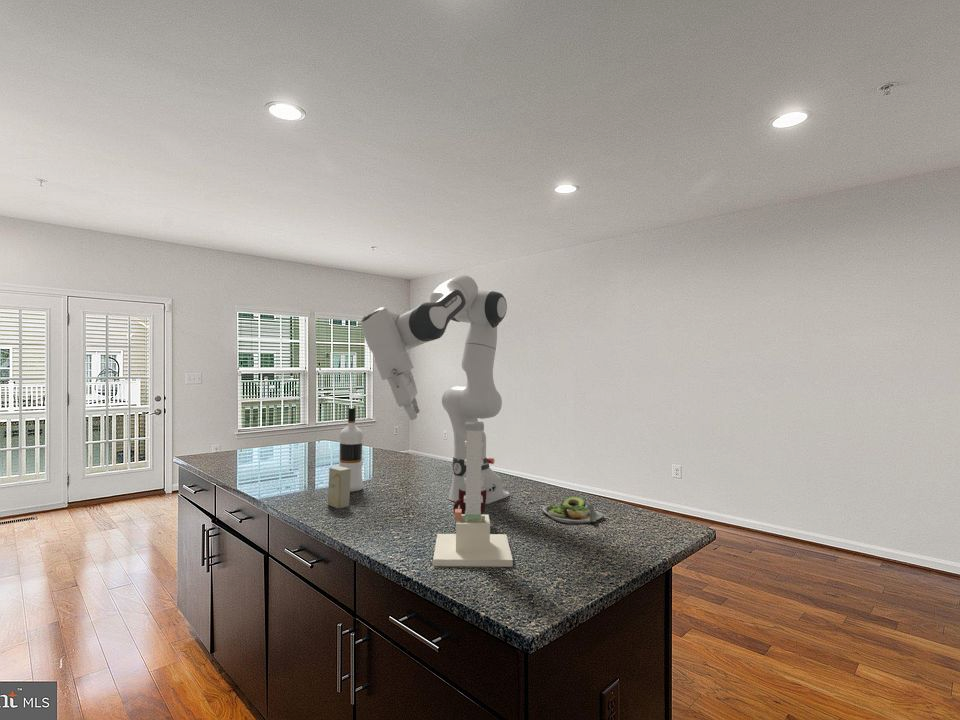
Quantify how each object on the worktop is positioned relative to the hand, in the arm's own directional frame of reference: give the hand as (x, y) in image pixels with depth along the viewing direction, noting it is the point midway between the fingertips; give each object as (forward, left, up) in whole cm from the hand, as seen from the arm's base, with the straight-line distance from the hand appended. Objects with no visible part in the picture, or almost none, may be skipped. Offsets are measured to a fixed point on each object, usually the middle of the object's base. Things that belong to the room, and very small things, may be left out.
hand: (415, 416), depth 135 cm
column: (-4, +19, -24) cm, 31 cm away
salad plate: (-49, +16, -32) cm, 61 cm away
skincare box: (-1, -40, -32) cm, 51 cm away
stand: (-4, +19, -32) cm, 37 cm away
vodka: (-15, -57, -32) cm, 67 cm away
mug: (-19, +2, -32) cm, 37 cm away
